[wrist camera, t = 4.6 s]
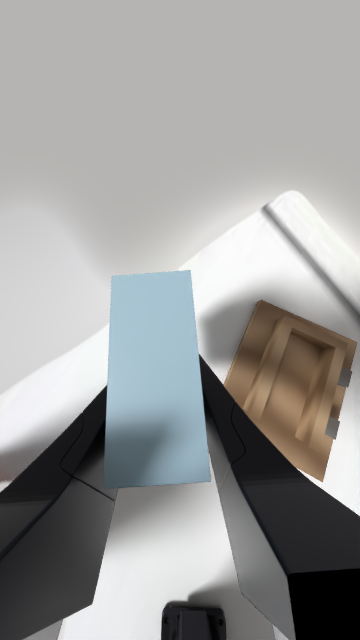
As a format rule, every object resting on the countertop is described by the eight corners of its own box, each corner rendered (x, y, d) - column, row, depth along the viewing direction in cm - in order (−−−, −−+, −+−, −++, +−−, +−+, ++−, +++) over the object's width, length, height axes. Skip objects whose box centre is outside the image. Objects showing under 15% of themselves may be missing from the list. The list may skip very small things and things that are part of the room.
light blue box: (190, 389, 15) (210, 481, 4) (159, 391, 15) (103, 489, 4) (184, 313, 17) (188, 244, 6) (157, 315, 17) (112, 250, 6)
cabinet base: (314, 475, 18) (341, 499, 15) (210, 416, 19) (215, 427, 16) (349, 342, 21) (375, 341, 18) (257, 302, 23) (268, 294, 20)
